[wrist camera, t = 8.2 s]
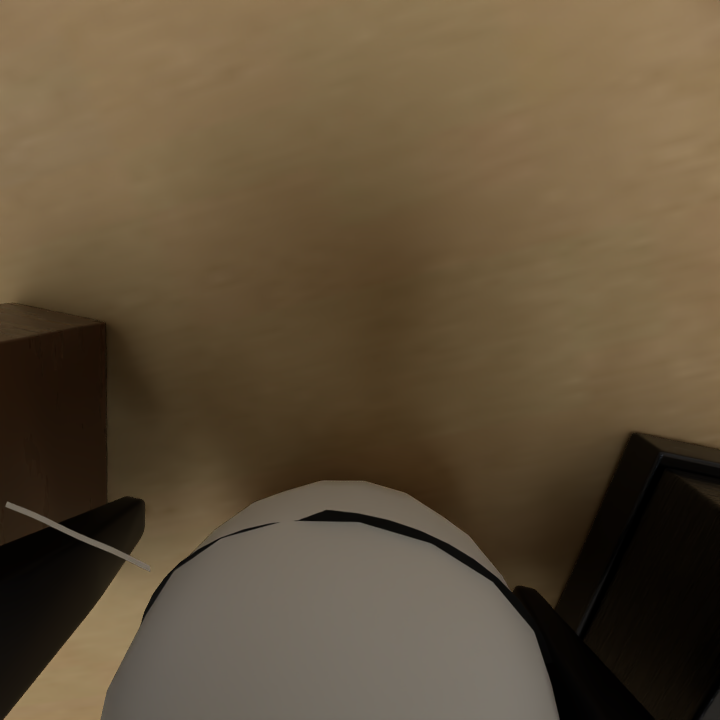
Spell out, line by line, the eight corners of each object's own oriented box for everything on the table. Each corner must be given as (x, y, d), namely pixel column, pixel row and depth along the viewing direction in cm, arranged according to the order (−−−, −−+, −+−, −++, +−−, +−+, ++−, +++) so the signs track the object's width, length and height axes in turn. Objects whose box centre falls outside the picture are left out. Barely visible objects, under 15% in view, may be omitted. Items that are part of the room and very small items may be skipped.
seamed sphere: (552, 557, 10) (1018, 1401, 2) (351, 680, 11) (284, 1376, 4) (286, 276, 8) (-348, 335, 1) (105, 462, 10) (-588, 939, 3)
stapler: (739, 452, 8) (1002, 596, 5) (611, 693, 10) (726, 918, 7) (631, 430, 8) (807, 553, 5) (526, 672, 11) (594, 883, 7)
